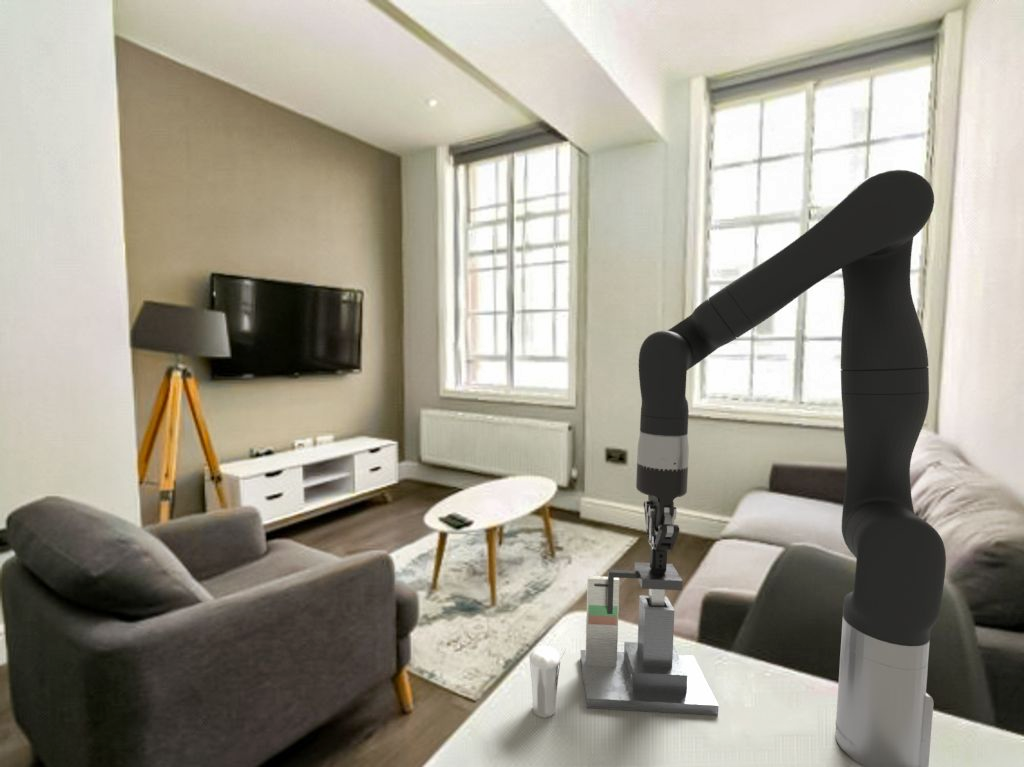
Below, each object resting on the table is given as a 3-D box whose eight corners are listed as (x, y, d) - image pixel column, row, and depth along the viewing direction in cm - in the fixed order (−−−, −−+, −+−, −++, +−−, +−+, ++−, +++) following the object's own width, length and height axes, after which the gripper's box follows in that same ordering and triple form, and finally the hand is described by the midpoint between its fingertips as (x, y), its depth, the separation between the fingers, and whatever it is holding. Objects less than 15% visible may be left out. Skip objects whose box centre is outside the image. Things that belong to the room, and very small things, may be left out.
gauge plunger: (669, 632, 82) (672, 563, 81) (679, 654, 76) (682, 580, 75) (604, 629, 83) (606, 561, 82) (609, 650, 77) (612, 577, 76)
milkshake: (561, 726, 71) (562, 657, 70) (524, 716, 72) (525, 650, 72) (567, 704, 75) (569, 640, 74) (533, 696, 77) (534, 633, 76)
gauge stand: (693, 664, 85) (697, 572, 84) (718, 715, 73) (723, 609, 72) (580, 658, 86) (583, 567, 85) (587, 708, 74) (590, 603, 73)
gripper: (701, 473, 71) (695, 592, 72) (675, 453, 84) (671, 555, 85) (646, 471, 71) (642, 590, 72) (629, 452, 84) (626, 553, 85)
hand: (657, 571), depth 78 cm, fingers closed
